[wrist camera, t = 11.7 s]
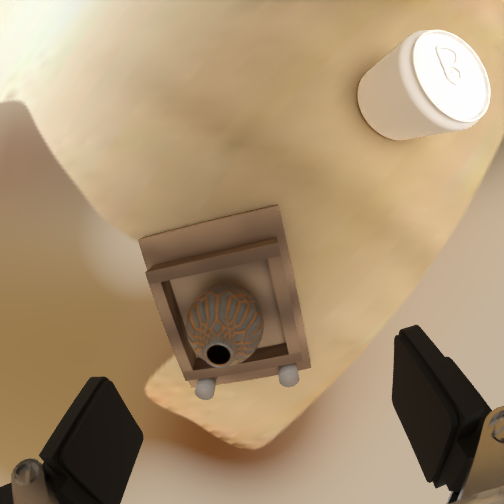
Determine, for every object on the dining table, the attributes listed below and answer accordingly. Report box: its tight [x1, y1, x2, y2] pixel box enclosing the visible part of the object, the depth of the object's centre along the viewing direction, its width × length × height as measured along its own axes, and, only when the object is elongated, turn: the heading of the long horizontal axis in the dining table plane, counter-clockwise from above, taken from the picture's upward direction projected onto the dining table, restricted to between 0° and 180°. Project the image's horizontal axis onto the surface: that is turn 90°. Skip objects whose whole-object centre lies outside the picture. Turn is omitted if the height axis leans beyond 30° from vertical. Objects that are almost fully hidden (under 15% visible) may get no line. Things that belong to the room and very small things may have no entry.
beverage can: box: [357, 30, 490, 140], centre depth 21 cm, size 8×8×12 cm
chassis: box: [138, 205, 311, 400], centre depth 30 cm, size 18×14×4 cm
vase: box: [186, 285, 264, 368], centre depth 27 cm, size 7×7×9 cm
